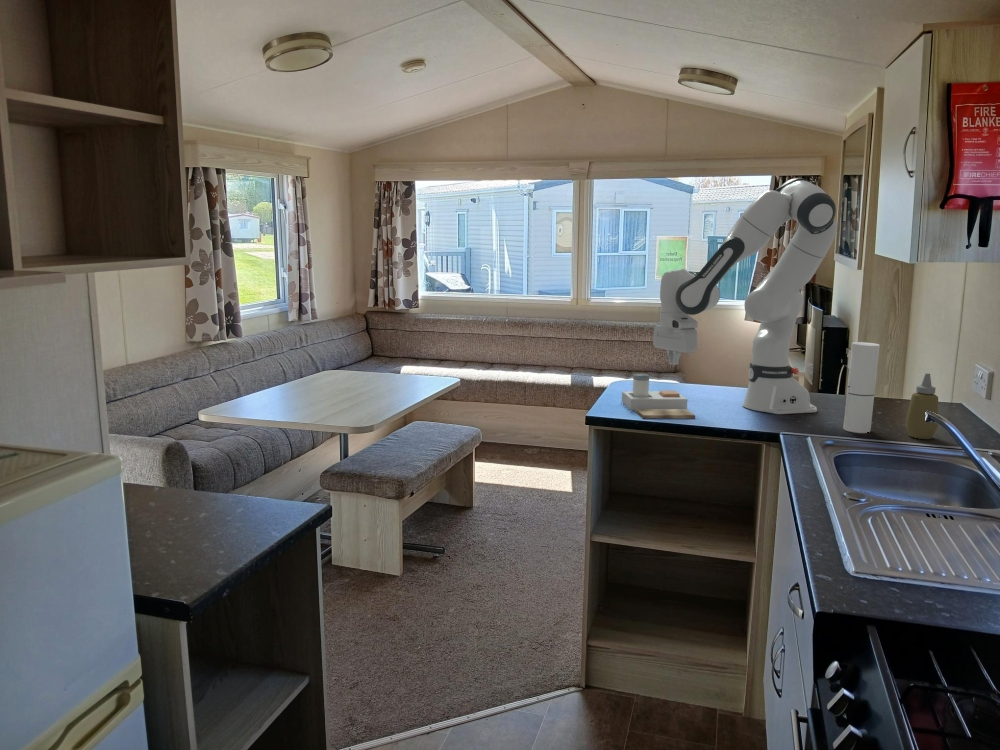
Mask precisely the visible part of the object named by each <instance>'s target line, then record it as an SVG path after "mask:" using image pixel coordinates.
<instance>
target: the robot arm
mask: <svg viewBox="0 0 1000 750" xmlns="http://www.w3.org/2000/svg"><path fill="white" fill-rule="evenodd" d="M836 213H837V208H836V204H835V202H834V200H833V198H832V197H831V196H830V195H829V194H828V193H826V192H825V191H824V190H823V189H822V188H821V187H820V186H819V185H816V184H814V183H813V182H811V181H810V180H808V179H806V178H804V177H803V178H801V177H794V178H791V179H789V180H787V181H785V182H784V183H782V185H781V186H779V187H778V188H776V189H775V190H774V189H773V190H772V189H768V190H765V191H763V192H762V193H761V194H760V195H759V196H757V197H756V198H755V199H754V200H753V201H752V202H751V203H750V204H749V205H748V207H746V209H745V210H744V211H743V212H742V213H741V215H740V216H739V218H738V219H737V220H736V222H735V223H734V225H733V226H732V228H731V229H730V230H729V233H728V234H727V236H726V238H724V240H723V241H722V244H721V245H720V246H719V247H718V249H717V250H716V251H715V252H714V253H713V255H712V256H711V258H710V259H709V260H708V261H707V262H706V263H705V264H704V266H703V267H702V269H700V271H699V272H698V273H697V274H696V275H694V274H693V273H690V272H689V271H688V270H687V269H685V268H679V269H674V270H669V271H666V272H664V273H663V274H662V277H661V279H660V290H659V299H660V302H661V303H660V310H659V319H658V320H657V321H656V323H655V327H654V329H653V337H652V344H653V347H654V348H657V349H662V350H666V356H667V358H668V364H670V365H674V366H678V365H679V362H680V360H679V359H680V358H681V356H682V354H683V353H684V354H693V353H695V352H696V351H697V349H698V332H697V329H698V325H699V323H698V321H697V320H696V319H694V318H693V317H692V316H693V315H699V314H700V313H702V312H706V311H708V310H711V309H712V308H714V307H716V305H718V304H719V302H720V298H721V291H720V288H719V287H718V284H719V282H720V281H722V279H723V278H724V277H725V276H726V274H727V273H728V272H730V270H731V269H732V268H733V267H734V266H735V265H737V264H738V263H740V262H741V261H743V260H744V259H747V258H749V257H751V256H754V255H756V254H757V253H758V252H759V251H760V250H762V249H763V248H764V247H765V246H766V245H767V243H768V242H769V241H770V240H772V238H773V237H774V235H775V234H776V233H777V232H778V230H779V229H780V227H781V226H783V224H785V223H787V222H788V221H790V220H793V221H795V222H797V223H798V224H797V225H798V226H797V229H796V232H795V233H794V234H793V236H792V238H791V239H790V241H789V242H788V244H787V246H786V248H784V251H783V253H782V254H781V256H780V258H779V259H778V261H777V263H776V264H775V265H774V267H773V268H772V269H771V270H770V271H769V272H768V273H767V275H766V276H765V277H764V278H763V279H762V280H761V282H760V283H759V284H758V285H757V286H756V288H755V289H753V291H751V292H750V293H749V294H748V295H747V296H746V298H745V300H744V304H743V306H744V311H745V314H747V316H748V318H750V319H751V320H753V321H756V322H759V323H760V325H759V326H758V330H757V332H756V333H755V336H754V337H753V341H752V349H751V350H752V351H751V361H750V363H749V369H748V386H747V392H746V395H745V398H744V401H743V403H742V406H743V407H744V408H747V409H748V410H751V411H757V412H765V413H770V414H775V415H787V414H789V415H790V414H804V413H805V414H806V413H816V412H818V409H817V406H815V405H814V404H812V403H811V398H810V397H811V396H810V392H809V390H808V389H807V388H806V387H805V386H803V384H801V383H800V382H799V381H797V380H796V379H795V378H794V377H793V375H799V373H800V369H799V368H797V367H795V366H794V367H792V366H790V364H789V356H790V345H791V340H792V335H793V334H794V333H793V332H794V329H795V325H796V322H797V319H798V316H799V314H800V312H801V310H802V309H803V307H804V301H805V300H804V296H803V294H802V293H801V290H802V289H803V288H804V286H805V285H806V284H808V283H810V281H811V280H812V279H813V277H814V275H815V274H816V272H817V270H818V269H819V267H820V265H821V264H822V262H823V260H824V259H825V257H826V256H827V253H829V250H830V248H831V247H832V245H833V242H834V239H835V237H836V236H837V232H838V225H837V222H836V221H835V218H836Z"/></svg>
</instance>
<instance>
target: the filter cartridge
mask: <svg viewBox="0 0 1000 750" xmlns="http://www.w3.org/2000/svg"><path fill="white" fill-rule="evenodd" d="M632 376H633V377H632V391H633V395H632V397H648V393H649V391H650V374H646V373H645V374H644V373H634V374H632Z"/></svg>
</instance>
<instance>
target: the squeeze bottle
mask: <svg viewBox="0 0 1000 750" xmlns="http://www.w3.org/2000/svg"><path fill="white" fill-rule="evenodd" d="M935 393H936V387H935V386H932V378H931V373H927V372H926V373H925V374H924V377H923V379H922V382H921V384H919V385H916V389H915V392H913V393H912V394H911V397H910V401H909V404H908V405H909V407H908V410H907V415H906V419H905V428H906V431H907V435H908V436H909V437H911V438H913V437H914V438H915V439H917V438H918V440H931V439H933V437H934V435H935V433H936V431H937V429H938V427H939V423H938V424H937V423H934V422H926V421H925V412H926V411H927V410H928V411H931V412H934V413H936V414H938V415H939V396H938V395H937V394H935ZM914 438H913V439H914Z"/></svg>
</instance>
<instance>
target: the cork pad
mask: <svg viewBox="0 0 1000 750" xmlns="http://www.w3.org/2000/svg"><path fill="white" fill-rule="evenodd" d="M635 412H636V414H637V415H638V416H640V417H641V419H643V418H665V419H696V415H695V414H694V413H693V412H692V411H690V410H689V409H688V408H687V409H636V410H635Z"/></svg>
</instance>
